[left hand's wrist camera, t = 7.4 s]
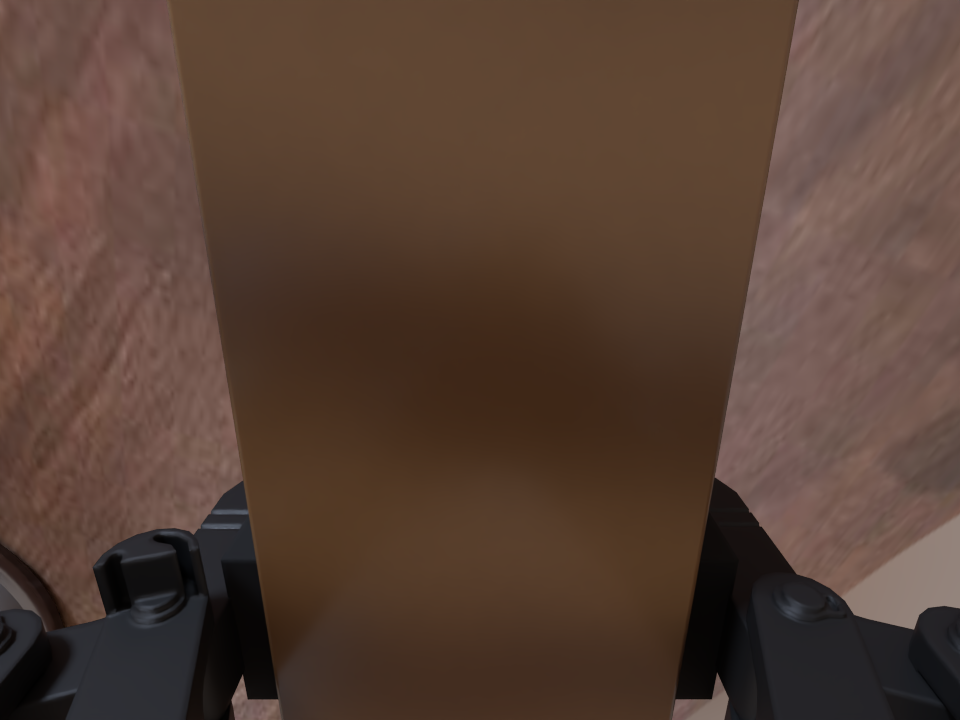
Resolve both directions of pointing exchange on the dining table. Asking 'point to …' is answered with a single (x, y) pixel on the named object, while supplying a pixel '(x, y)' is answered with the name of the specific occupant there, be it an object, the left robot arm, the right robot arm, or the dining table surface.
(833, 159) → the dining table surface
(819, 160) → the dining table surface
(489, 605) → the bar
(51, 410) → the dining table surface
